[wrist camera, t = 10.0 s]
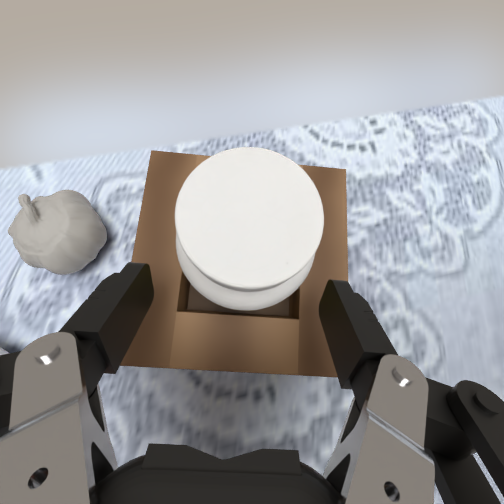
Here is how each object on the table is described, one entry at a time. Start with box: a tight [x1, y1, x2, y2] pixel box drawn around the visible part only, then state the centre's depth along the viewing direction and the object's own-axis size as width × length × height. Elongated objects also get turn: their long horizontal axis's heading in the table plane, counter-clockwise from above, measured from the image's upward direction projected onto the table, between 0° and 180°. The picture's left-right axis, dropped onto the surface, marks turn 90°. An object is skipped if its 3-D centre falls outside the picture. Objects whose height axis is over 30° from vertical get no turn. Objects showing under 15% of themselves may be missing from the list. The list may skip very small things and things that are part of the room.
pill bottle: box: [175, 147, 324, 311], centre depth 12 cm, size 6×6×11 cm
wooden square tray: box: [120, 150, 348, 377], centre depth 17 cm, size 14×14×4 cm
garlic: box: [8, 190, 107, 275], centre depth 16 cm, size 6×5×5 cm
